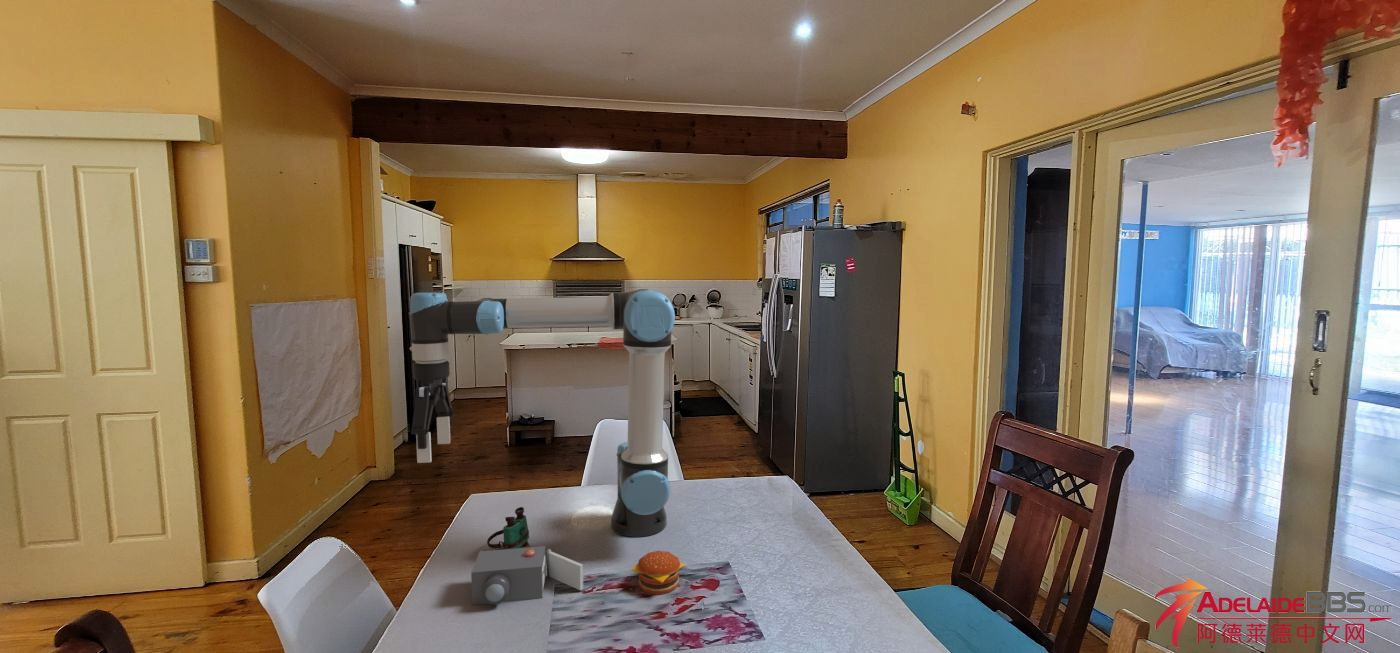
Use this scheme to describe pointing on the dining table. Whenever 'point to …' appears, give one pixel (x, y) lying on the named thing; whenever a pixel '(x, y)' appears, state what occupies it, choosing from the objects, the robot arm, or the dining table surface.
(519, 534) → the binoculars
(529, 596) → the camera body
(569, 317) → the robot arm
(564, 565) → the side door
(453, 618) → the dining table surface
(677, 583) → the hamburger
